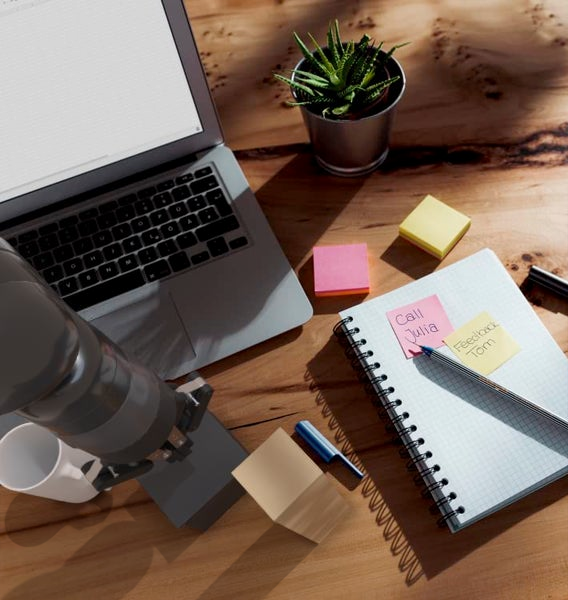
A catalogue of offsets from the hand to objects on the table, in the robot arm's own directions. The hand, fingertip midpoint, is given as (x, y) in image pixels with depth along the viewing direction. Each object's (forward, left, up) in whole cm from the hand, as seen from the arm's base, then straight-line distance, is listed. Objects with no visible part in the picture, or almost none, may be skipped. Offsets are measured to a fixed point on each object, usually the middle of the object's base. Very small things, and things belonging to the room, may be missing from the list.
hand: (180, 450), depth 65 cm
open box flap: (-1, 0, -5) cm, 5 cm away
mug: (-10, +9, -12) cm, 19 cm away
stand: (+6, -12, -12) cm, 18 cm away
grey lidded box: (0, 0, -12) cm, 12 cm away
